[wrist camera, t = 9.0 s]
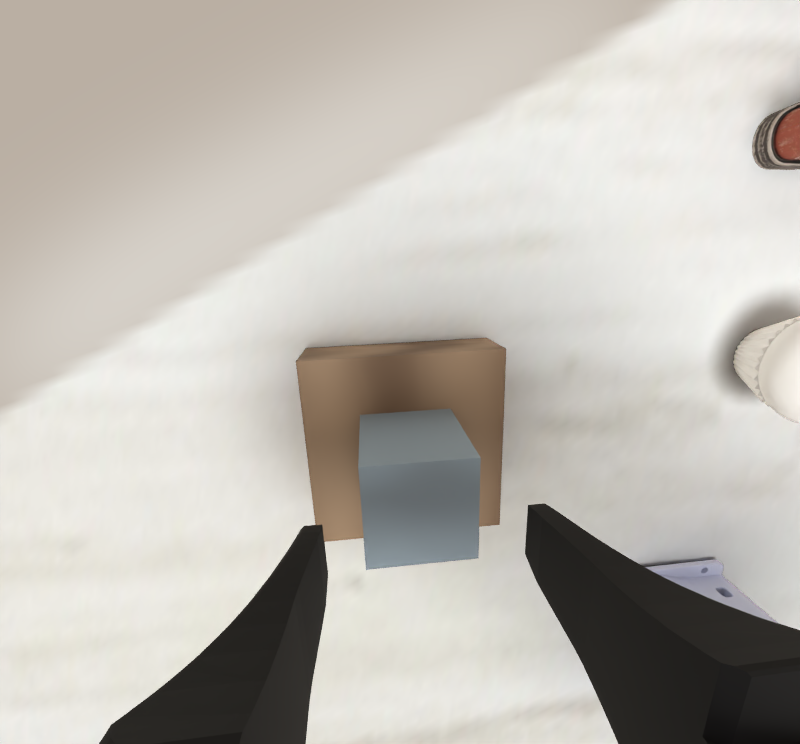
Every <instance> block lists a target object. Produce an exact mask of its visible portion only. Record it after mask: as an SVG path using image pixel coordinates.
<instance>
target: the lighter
mask: <svg viewBox="0 0 800 744" xmlns="http://www.w3.org/2000/svg"><path fill="white" fill-rule="evenodd" d="M752 149H753V156H754V159H755V162H756V163H757V164H758V165H759V166H760V167H761V168H764V169H780V170H795V169H800V102H799V103H797V104H794V105H792V106H790V107H787V108H785V109H783V110H780V111H778V112H775V113H773V114H771V115H769V116H768V117H767V118H765V119H764V120H763V121H762V123H761V124H760V125H759V126H758V128H757V131H756V133H755V135H754V139H753V145H752Z"/></svg>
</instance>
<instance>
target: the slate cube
mask: <svg viewBox="0 0 800 744" xmlns="http://www.w3.org/2000/svg"><path fill="white" fill-rule="evenodd" d="M480 463H481V457H480V456H479V454H478V452H477V451H476V449H475V448H474V446H473V444H472V443H471V441H470V439H469V438H468V436H467V435H466V433H465V431H464V430H463V428H462V426H461V425H460V423H459V422H458V420H457V418H456V417H455V415H454V413H453V412H452V410H451V409H437V410H423V411H409V412H394V413H380V414H366V415H360V431H359V460H358V471H359V484H360V497H361V510H362V522H363V535H364V548H365V561H366V570H368V569H377V568H387V567H397V566H407V565H416V564H426V563H436V562H446V561H455V560H465V559H475V558H478V550H479V506H480Z"/></svg>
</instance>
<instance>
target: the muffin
mask: <svg viewBox="0 0 800 744" xmlns="http://www.w3.org/2000/svg"><path fill="white" fill-rule="evenodd" d="M733 363H734V368H735V369H736V370H735V372H736V373H737V374H738V375H739V377H740V378H741V379H742V380H743V381H744V382H745V383H746V384H747V386H748V387H749V388H750V389H751V390H752V391H753V392H754V393H755V395H756V396H757V397H758V398H759V399H760V400H761V401H762V402H764V403H765V404H766V405H767V406H768V407H769V406H770V407H771V408H772V409H773V410H774V411H775V412H777V413H778V414H779V415H781V416H782V417H784V418H786V419H788V420H790V421H793V422H796V423H800V316H798V317H795V318H792V319H788V320H785V321H782V322H779V323H776V324H773V325H770V326H767V327H763V328H760V329H758V330H755V331H753V332H752V333H749V334H748V336H747V337H744V340H743V341H741V342H740V345H738V346H737V350H736V351H735V355H734V361H733Z"/></svg>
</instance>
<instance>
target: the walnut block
mask: <svg viewBox="0 0 800 744" xmlns="http://www.w3.org/2000/svg"><path fill="white" fill-rule="evenodd" d="M505 365H506V349H505V348H504V347H502V346H500V345H498V344H497V343H495V342H493V341H491V340H489V339H488V338H476V339H459V340H441V341H424V342H407V343H390V344H372V345H355V346H338V347H321V348H306V349H305V350H304V352H303V353H302V354H301V356H300V357H299V358H298V360H297V361H296V366H297V374H298V383H299V391H300V399H301V408H302V416H303V424H304V432H305V441H306V449H307V457H308V465H309V474H310V482H311V490H312V498H313V507H314V515H315V523H316V525H322V527H323V536H324V542H326V541H337V540H347V539H357V538H364V535H363V522H362V510H361V497H360V484H359V471H358V460H359V431H360V415H366V414H380V413H394V412H409V411H423V410H437V409H451V410H452V412H453V413H454V415H455V417H456V418H457V420H458V422H459V423H460V425H461V426H462V428H463V430H464V431H465V433H466V435H467V436H468V438H469V439H470V441H471V443H472V444H473V446H474V448H475V449H476V451H477V452H478V454H479V456H480V457H481V463H480V506H479V527H480V526H490V525H499V523H500V497H501V471H502V444H503V418H504V391H505Z"/></svg>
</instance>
